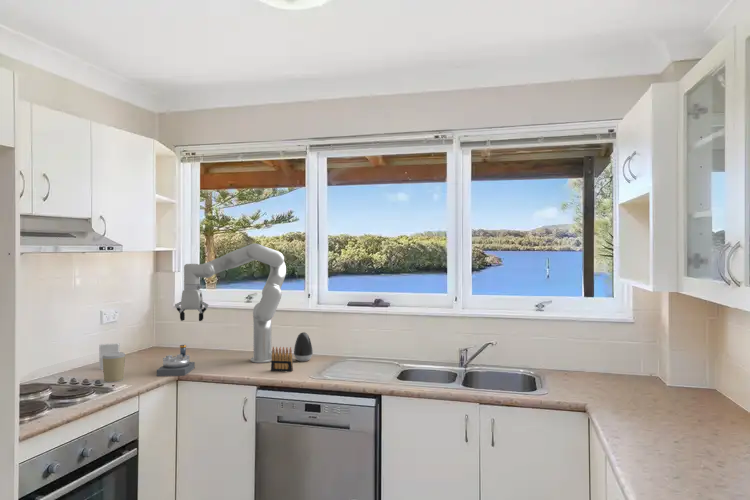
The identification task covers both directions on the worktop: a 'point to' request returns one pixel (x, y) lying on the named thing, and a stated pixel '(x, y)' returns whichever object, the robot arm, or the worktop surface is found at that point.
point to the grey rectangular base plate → (175, 370)
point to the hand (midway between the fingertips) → (191, 320)
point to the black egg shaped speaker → (303, 347)
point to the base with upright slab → (106, 351)
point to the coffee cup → (113, 366)
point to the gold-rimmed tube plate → (177, 359)
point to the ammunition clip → (281, 360)
